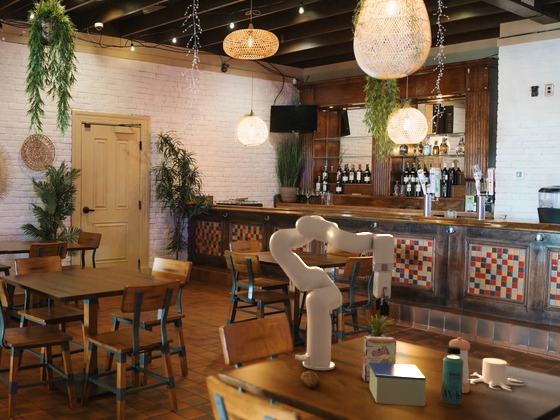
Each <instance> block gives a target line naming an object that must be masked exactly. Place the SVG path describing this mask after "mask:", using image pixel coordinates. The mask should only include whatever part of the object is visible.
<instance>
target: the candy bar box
mask: <svg viewBox="0 0 560 420" xmlns="http://www.w3.org/2000/svg"><path fill="white" fill-rule="evenodd" d="M396 356H397V340H396V339H395V338H394V337H391V336H390V337H389V336H385V337H371V336H369V335H368V336H366V335H364V336H363V351H362V374H361V377H362V380H363V381H364V383H365V382H366V383H367V382H368V383H370V366H369V362H371V363H389V364H396V359H397V357H396Z"/></svg>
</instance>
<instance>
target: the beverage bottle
mask: <svg viewBox="0 0 560 420" xmlns="http://www.w3.org/2000/svg"><path fill="white" fill-rule="evenodd" d="M446 353H447V354H448V355H446V356H445V357H443V359H442V360H443V362H442V378H441V392H440V393H441V395H440V396H441V397H440V398H441V401H442V402H444V403H446V404H450V405H459V404H462V401H463V394H464V393H463V391H462V385H463V384H462V382H463V360H462V359H461V358H460V357H458V356H451V354H454V355H459V354H461V352H460V348H459V347H456V346H447V350H446Z"/></svg>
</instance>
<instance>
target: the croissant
mask: <svg viewBox="0 0 560 420" xmlns="http://www.w3.org/2000/svg"><path fill="white" fill-rule="evenodd" d="M300 380H301V381H302V383H303V384H304V385H305V386H306V387H308V388H310V389H314V388H316V386H317V385H318V382H319V380H320V378H319V376H318V375H317V373H316V372H314V371H312V370H307V371H303V372H302V373H301V376H300Z"/></svg>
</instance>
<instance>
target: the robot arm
mask: <svg viewBox="0 0 560 420" xmlns="http://www.w3.org/2000/svg"><path fill="white" fill-rule="evenodd" d="M314 240H316V241H319V242H323V243H326V244H328V245H330V246H332V247H333V248H336V249H338V250H340V251H345V252H347V253H352V254H356V255H357V254H366V253H372V272H373V273H374V274H373V287H372V295H373V297H375V302H374V304H375V308H374V310H375V311H379V315H380V316H381V317H382V316H385V317H388V316H390V299H391V295H392V294H391V293H392V290H391V289H392V281H391V280H392V273H394V269H395V236H393V235H392V234H377V233H373V232H359V233H355V232H350V231H347V230H343V229H341V228H339V226H338V223H336V222H334V221H333V222H332V221H328V220H325V218H324V217H322V216H320V215H315V214H314V215H313V214H311V215H304V216H301V217H300V218H298V219H297V221H296V223H295V228H283V229H279V230H277V231H275V232H274V233H273V234H272V235H271V237H270V239H269V251H270V254H271V256H272V258H273V260H274V261H275V262H276V263H277V264H278V265H279V266H280V268H281V269H282V271H283V272H284V273H285V275H286V276H287V277H288V279H290V281H291V283H292V284H293V285H294V286H295V288H296V289H297V290H299V291H301V292H308V291H310V292H309V293H308V294H307V295H306V298H305V308H306V316H307V317H306V318H307V320H306V321H307V326H306V327H307V329H306V330H307V331H306V352H305V354H302V355H300V354H295V355H294V359H295V360H296V361H297V360H298V361H299V362H302V366H303V367H304V368H307V369H308V370H315V371H331V370H333V369H335V366H336V365H335V363H334V362H332V329H333V328H332V327H333V325H332V317H331V314H330V311H333V310H335V309H338V308H340V306H342V303H343V295H342V292H341V291H340V289H339V287H338V286H337V285H336V284H335V283H334V281H333V280H332V278H330V276H329V275H328V274H327V272H326V271H325V270H323V268H320V267H318V266H307V265H306V264H305V263H304V261H303V260H302V259H301V258H300V256H299V255H298V254H296V253H295V252H294V251H293V250H294V249H299V248H302V247H304V246H306V245H307V244H309V243H311V242H312V241H314ZM292 249H293V250H292Z"/></svg>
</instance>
